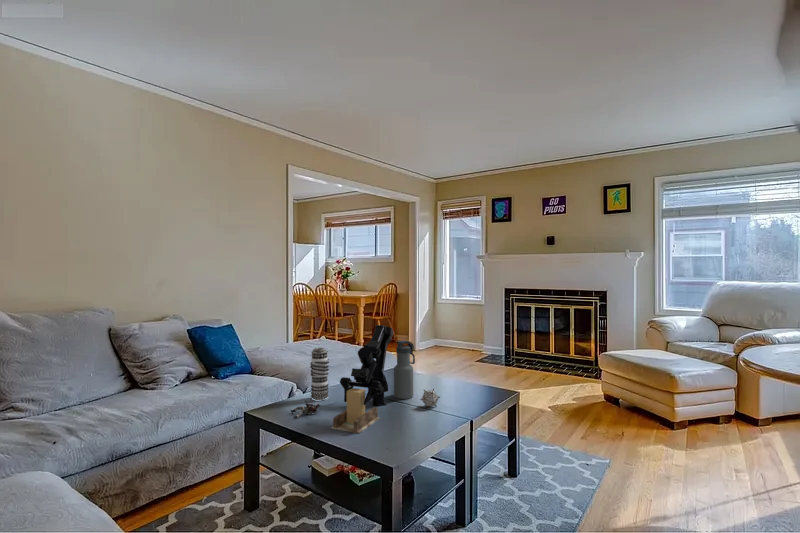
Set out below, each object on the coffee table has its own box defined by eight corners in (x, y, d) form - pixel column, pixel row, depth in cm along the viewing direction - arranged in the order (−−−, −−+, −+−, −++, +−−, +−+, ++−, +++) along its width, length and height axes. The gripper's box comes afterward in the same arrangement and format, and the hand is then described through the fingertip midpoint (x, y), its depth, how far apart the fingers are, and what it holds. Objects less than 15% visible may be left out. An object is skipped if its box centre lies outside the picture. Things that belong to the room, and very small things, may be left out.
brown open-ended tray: (353, 414, 191) (353, 404, 191) (379, 418, 186) (379, 407, 186) (331, 428, 175) (331, 417, 175) (359, 433, 170) (359, 421, 170)
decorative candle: (333, 397, 216) (332, 347, 216) (320, 402, 208) (320, 350, 208) (319, 394, 221) (319, 346, 221) (306, 399, 213) (306, 349, 213)
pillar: (352, 418, 184) (352, 388, 184) (365, 420, 182) (365, 389, 182) (346, 422, 179) (346, 391, 179) (359, 424, 177) (359, 392, 177)
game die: (433, 415, 200) (438, 402, 194) (416, 408, 201) (421, 394, 196) (438, 401, 207) (443, 388, 201) (422, 394, 209) (426, 381, 203)
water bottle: (407, 392, 224) (407, 338, 224) (417, 397, 216) (417, 341, 216) (390, 395, 219) (390, 340, 219) (400, 400, 211) (400, 343, 211)
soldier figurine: (287, 402, 187) (313, 389, 191) (291, 411, 195) (315, 398, 199) (294, 417, 183) (320, 403, 187) (297, 426, 191) (322, 412, 195)
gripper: (341, 358, 188) (327, 390, 178) (380, 362, 180) (367, 395, 170) (350, 372, 195) (337, 404, 185) (388, 376, 188) (377, 409, 177)
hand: (354, 403), depth 179 cm, fingers open, 9 cm apart
